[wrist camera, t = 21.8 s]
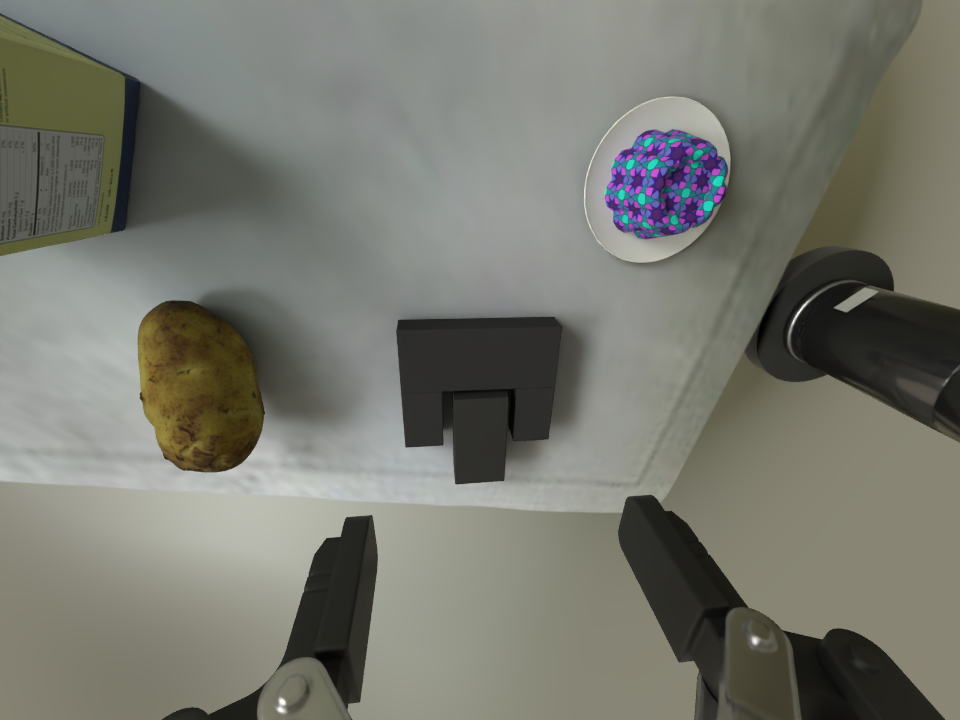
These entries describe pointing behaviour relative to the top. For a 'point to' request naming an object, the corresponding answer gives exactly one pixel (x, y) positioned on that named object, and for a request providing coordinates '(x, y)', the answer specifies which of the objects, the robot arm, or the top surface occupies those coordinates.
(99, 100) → the protein box
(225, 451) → the potato
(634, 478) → the top surface
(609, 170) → the pudding
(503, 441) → the black rectangular block
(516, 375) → the base pad
